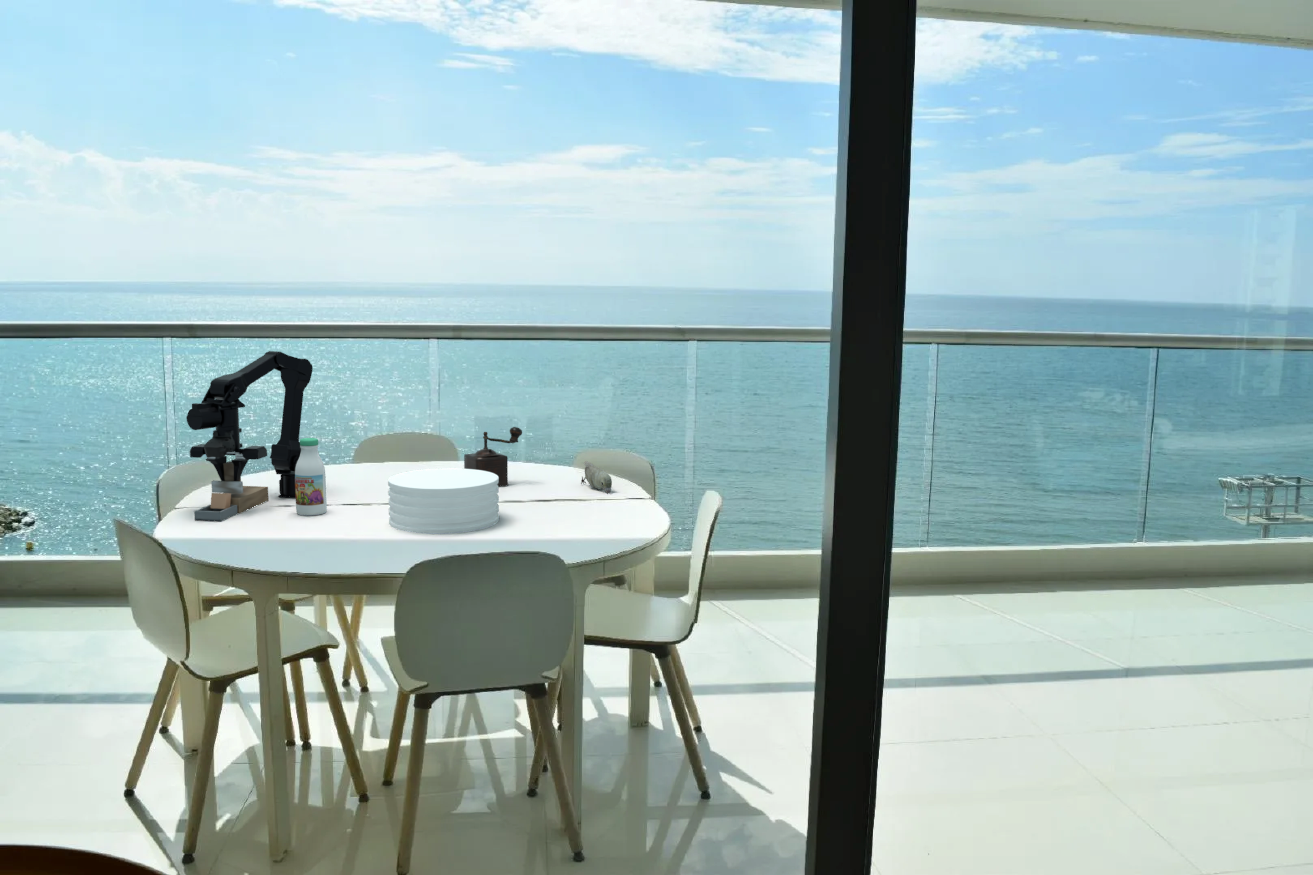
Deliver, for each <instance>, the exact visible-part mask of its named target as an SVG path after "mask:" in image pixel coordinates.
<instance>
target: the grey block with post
mask: <svg viewBox="0 0 1313 875" xmlns="http://www.w3.org/2000/svg"><path fill="white" fill-rule="evenodd" d="M223 465H224V480H225V481H221V480H212V481H211V482H210V483H211V484H210V485H211V494H212V493H239V494H241V493H243V486H244V485H243V484H244V483H243V481H242V478H241V477H242V476H241V477H240V479H239V481H234V465H233V463H232V461H231V460H228V461H227V462H226V463H223Z"/></svg>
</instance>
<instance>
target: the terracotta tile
mask: <svg viewBox="0 0 1313 875" xmlns="http://www.w3.org/2000/svg"><path fill="white" fill-rule="evenodd" d="M210 496H211V498H210V505H211V508H218V509H226V508H229V507H230V503H231V494H228V493H212V492H211V495H210Z"/></svg>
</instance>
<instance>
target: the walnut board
mask: <svg viewBox="0 0 1313 875" xmlns="http://www.w3.org/2000/svg"><path fill="white" fill-rule="evenodd" d="M228 494H231V503H230V505H237V513H238V514H237V515H239V514H242V513H244V512H247V511H248V510H247V509H249V510H251V509H253V508H255V507H254V506H256V505H258V506H260V505H262V504H264V503H263V502H265V501H267V502H269V500H270V499H269V486H261V485H260V486H258V485H257V486H256V485H255V486H254V485H243V493H241V494H239V493H228ZM261 503H262V504H261ZM265 503H266V502H265ZM252 507H253V508H252ZM256 507H257V506H256ZM246 510H247V511H246Z"/></svg>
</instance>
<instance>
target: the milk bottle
mask: <svg viewBox="0 0 1313 875" xmlns="http://www.w3.org/2000/svg"><path fill="white" fill-rule="evenodd" d="M299 442H300V448H301V453H300V457H299V459H298V462H297V464H296V468H295V493H296V498H295V510H296V514H297V515H300V516H318V515H323V514H325V513H326V512H327V510H328V509H327V508H328V507H327V505H328V504H327V482H326V481H327V480H326V477H327V476H326V467H325V465H324V464H325V463H324V461H323V460H322V458H321V456H320V454H319V450H318V447H319V439H318V438H316V437H305V438H301V439H300V438H299Z"/></svg>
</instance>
